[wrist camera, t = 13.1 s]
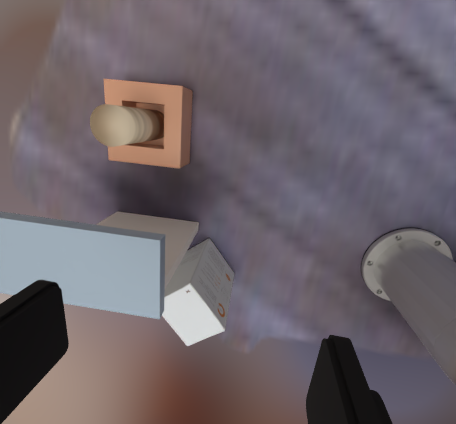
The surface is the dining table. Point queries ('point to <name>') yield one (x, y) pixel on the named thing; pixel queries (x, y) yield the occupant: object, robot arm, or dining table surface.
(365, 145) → the dining table surface
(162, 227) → the lidded rectangular box
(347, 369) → the robot arm
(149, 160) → the socket
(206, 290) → the small box
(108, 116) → the peg
